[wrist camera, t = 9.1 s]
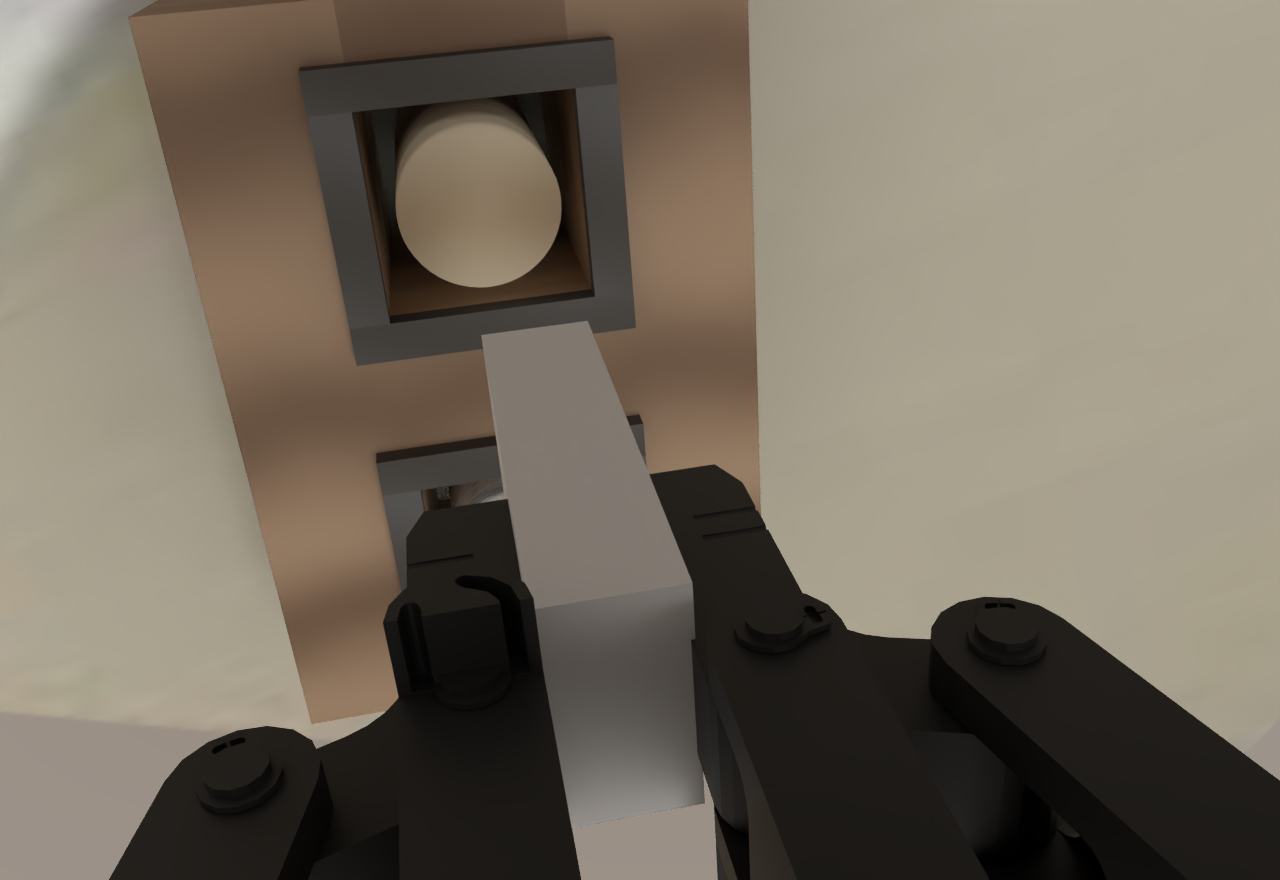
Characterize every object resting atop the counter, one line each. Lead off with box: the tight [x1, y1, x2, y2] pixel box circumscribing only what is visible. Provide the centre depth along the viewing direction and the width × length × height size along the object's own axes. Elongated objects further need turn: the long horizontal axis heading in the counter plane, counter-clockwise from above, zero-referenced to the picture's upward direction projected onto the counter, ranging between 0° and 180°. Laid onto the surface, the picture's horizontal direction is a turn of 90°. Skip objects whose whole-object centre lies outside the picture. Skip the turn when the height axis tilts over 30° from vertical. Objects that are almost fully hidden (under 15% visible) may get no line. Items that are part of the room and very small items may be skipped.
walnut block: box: [128, 0, 761, 724], centre depth 34 cm, size 20×14×9 cm
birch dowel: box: [395, 95, 562, 287], centre depth 31 cm, size 4×4×8 cm
